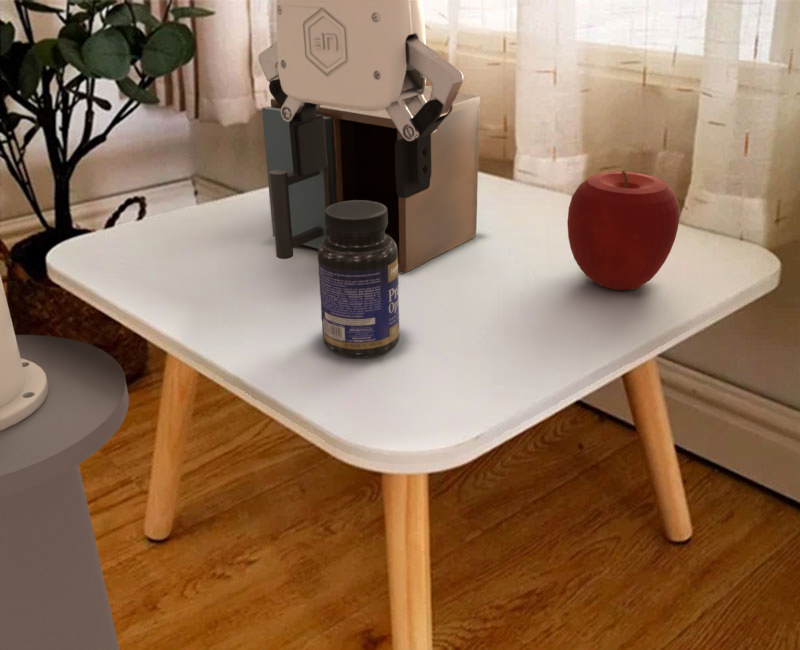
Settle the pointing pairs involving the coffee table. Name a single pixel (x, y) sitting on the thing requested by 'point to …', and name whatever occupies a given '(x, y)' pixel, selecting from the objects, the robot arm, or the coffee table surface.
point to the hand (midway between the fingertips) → (360, 182)
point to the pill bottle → (358, 280)
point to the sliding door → (295, 188)
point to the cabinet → (376, 176)
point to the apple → (622, 227)
